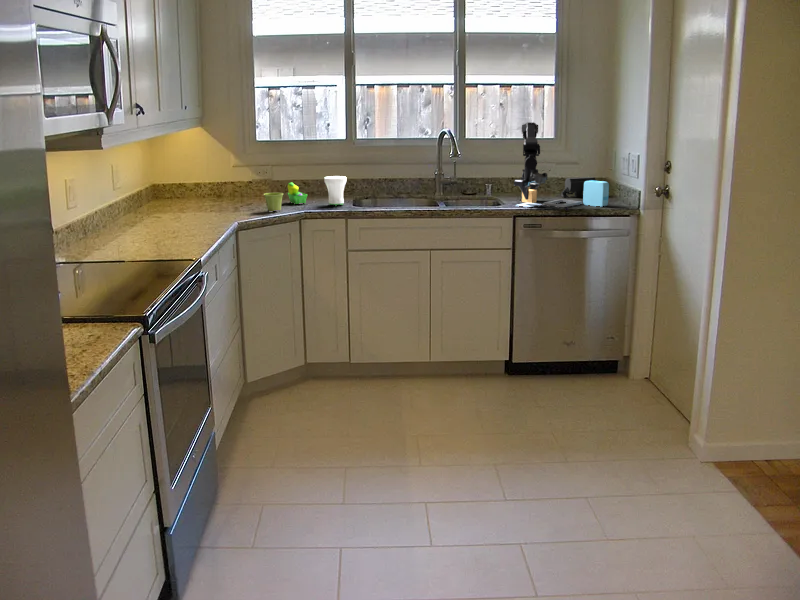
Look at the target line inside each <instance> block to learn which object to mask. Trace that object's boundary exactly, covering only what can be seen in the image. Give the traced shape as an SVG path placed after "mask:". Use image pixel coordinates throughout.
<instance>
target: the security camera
mask: <svg viewBox="0 0 800 600" xmlns="http://www.w3.org/2000/svg"><path fill="white" fill-rule="evenodd" d="M590 180H594V181H597V180H596V177H593V176H586V177H585V176H583V177H567V178H566V179H565V181H564V189H563V191H561V194H560V195H561V197H562V198H563V197H564V198H565V199H566V197H568V198H569V195H574V198H583V193H584V182H585V181H590ZM564 198H563V199H564Z"/></svg>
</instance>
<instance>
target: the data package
mask: <svg viewBox="0 0 800 600" xmlns="http://www.w3.org/2000/svg"><path fill="white" fill-rule="evenodd" d="M609 191H610V183H609V182H608V181H604V180H602V181H600V180H596V181H594V180H590V181H585V182H584V191H583V197H582V205H584V206H588V205H590V206H589V207H596V206H600V207H599V208H602V207H603V206H604V207H607V206H608V205H609V196H610V195H609V194H610V192H609ZM604 207H603V208H604Z"/></svg>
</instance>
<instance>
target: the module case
mask: <svg viewBox="0 0 800 600" xmlns="http://www.w3.org/2000/svg"><path fill="white" fill-rule="evenodd" d="M560 202H566V203H563V204H562V203H560ZM555 203H557V204H555ZM580 204H582V205H583V200H572V199H564V198H563V199H555V200H551V201H545V202H543V204H542V206H543V205H548V206H547V207H550V206H557V207H556V208H559V207H567V206H572V207H574V206H573V205H577V206H581V205H580ZM567 208H568V207H567Z"/></svg>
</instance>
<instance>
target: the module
mask: <svg viewBox="0 0 800 600" xmlns="http://www.w3.org/2000/svg"><path fill="white" fill-rule="evenodd" d="M537 196H538V189H536V190H531V189H529V194H528V200H526V199H525V197H524V195H523V192H522V191H521V197H522V201H521V203H535V204H536V203H537V201H538V200H537V199H538V197H537Z"/></svg>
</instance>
